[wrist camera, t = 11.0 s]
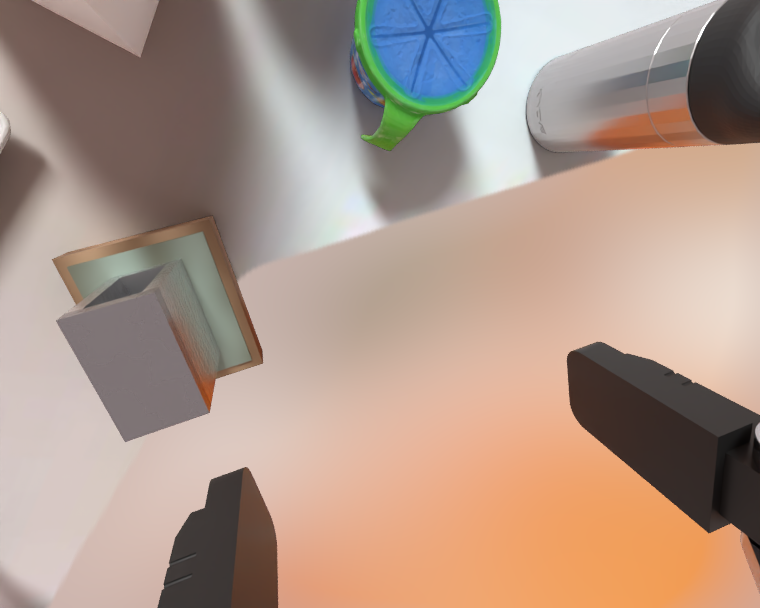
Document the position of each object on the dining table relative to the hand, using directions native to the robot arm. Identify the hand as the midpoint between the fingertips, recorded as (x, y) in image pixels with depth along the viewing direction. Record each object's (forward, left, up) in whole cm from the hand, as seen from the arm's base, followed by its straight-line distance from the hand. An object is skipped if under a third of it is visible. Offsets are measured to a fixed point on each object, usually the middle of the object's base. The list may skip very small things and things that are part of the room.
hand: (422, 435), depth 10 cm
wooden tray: (+13, +3, -33) cm, 35 cm away
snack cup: (-12, -13, -33) cm, 37 cm away
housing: (+12, +3, -29) cm, 32 cm away
